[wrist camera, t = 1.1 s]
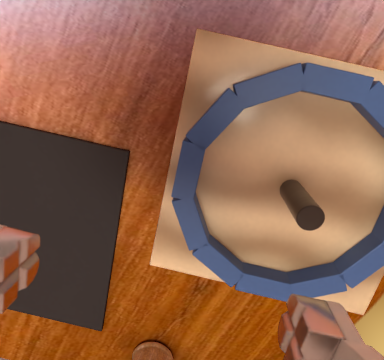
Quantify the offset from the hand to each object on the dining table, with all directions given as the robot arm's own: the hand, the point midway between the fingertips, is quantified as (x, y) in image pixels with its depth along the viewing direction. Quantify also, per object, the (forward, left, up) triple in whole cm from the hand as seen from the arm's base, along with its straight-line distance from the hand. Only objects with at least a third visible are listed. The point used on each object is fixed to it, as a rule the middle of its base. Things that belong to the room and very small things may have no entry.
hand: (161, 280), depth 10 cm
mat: (+11, -16, -17) cm, 26 cm away
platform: (0, +7, -17) cm, 19 cm away
